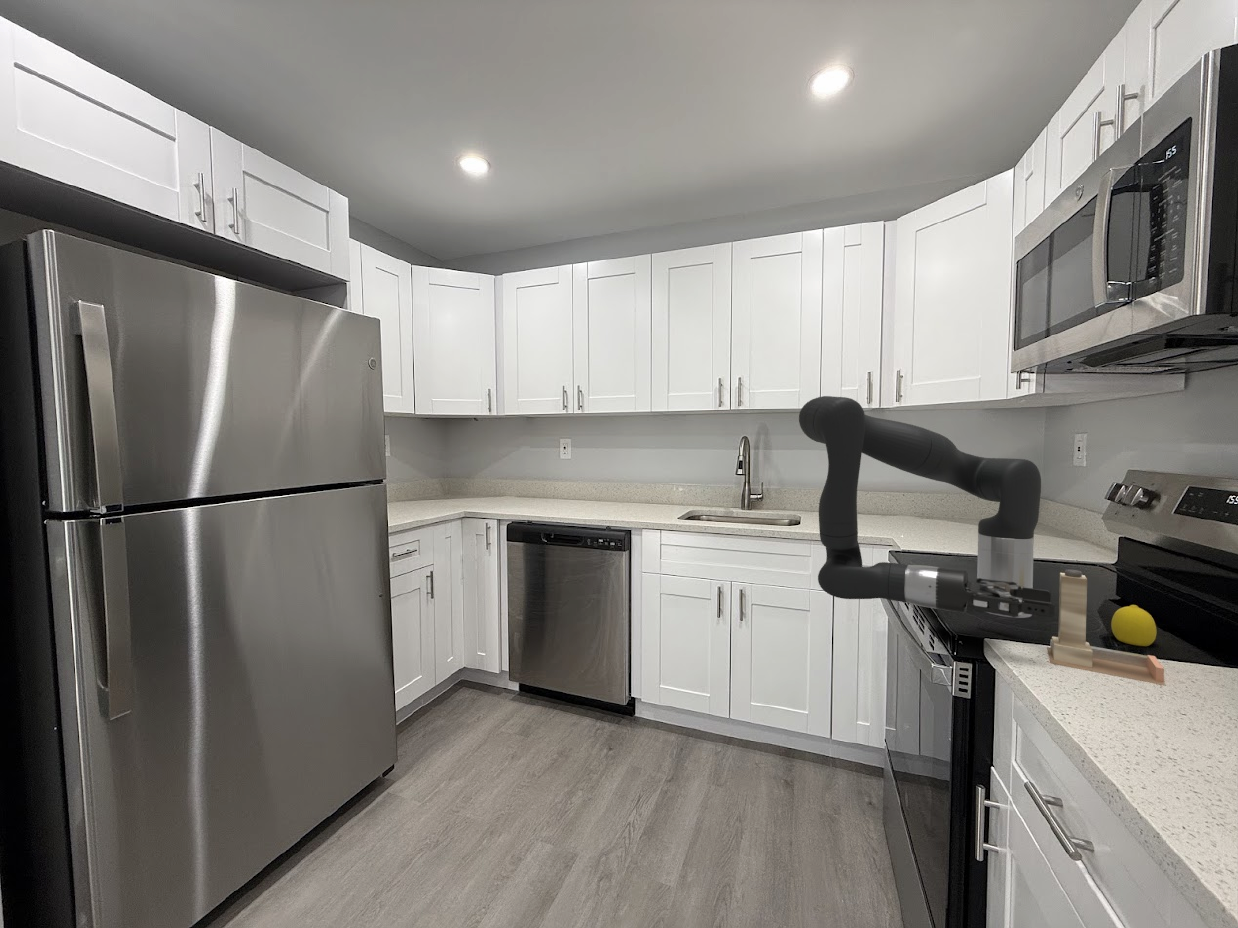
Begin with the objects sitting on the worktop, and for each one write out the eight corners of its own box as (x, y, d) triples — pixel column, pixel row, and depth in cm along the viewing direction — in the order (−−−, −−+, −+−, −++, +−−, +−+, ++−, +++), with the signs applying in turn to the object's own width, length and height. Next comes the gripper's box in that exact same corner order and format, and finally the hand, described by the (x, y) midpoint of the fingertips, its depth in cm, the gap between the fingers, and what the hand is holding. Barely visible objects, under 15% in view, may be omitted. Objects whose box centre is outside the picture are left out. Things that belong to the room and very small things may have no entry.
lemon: (1140, 645, 90) (1142, 601, 90) (1164, 658, 85) (1166, 611, 85) (1103, 642, 92) (1104, 599, 92) (1124, 654, 86) (1125, 608, 86)
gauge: (1051, 651, 84) (1053, 566, 84) (1088, 657, 82) (1090, 570, 81) (1053, 660, 81) (1056, 571, 80) (1092, 667, 78) (1094, 575, 78)
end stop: (1147, 667, 78) (1147, 654, 78) (1154, 669, 77) (1154, 656, 77) (1155, 680, 74) (1156, 667, 74) (1163, 682, 73) (1164, 668, 73)
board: (1046, 655, 86) (1046, 646, 86) (1151, 675, 79) (1152, 665, 79) (1050, 672, 80) (1050, 663, 80) (1165, 695, 72) (1165, 685, 72)
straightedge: (1050, 647, 86) (1050, 639, 86) (1147, 665, 79) (1148, 655, 79) (1051, 650, 85) (1051, 641, 85) (1149, 668, 78) (1150, 658, 78)
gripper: (931, 575, 86) (1056, 590, 77) (939, 560, 98) (1049, 572, 88) (931, 618, 87) (1055, 639, 77) (939, 598, 98) (1048, 614, 88)
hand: (1052, 603), depth 82 cm, fingers open, 8 cm apart
